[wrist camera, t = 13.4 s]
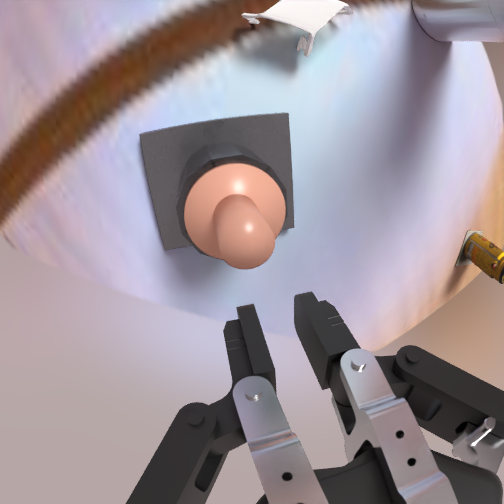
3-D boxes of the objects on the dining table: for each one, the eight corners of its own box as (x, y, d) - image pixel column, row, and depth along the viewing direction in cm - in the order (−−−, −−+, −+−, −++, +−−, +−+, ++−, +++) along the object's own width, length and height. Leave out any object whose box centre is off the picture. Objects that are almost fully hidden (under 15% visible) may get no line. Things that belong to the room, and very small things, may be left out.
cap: (270, 151, 23) (307, 174, 16) (276, 233, 27) (307, 284, 20) (177, 165, 22) (170, 195, 15) (193, 248, 26) (196, 306, 19)
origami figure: (278, 71, 27) (292, 66, 23) (236, 16, 23) (243, 2, 18) (354, 33, 25) (376, 27, 21) (317, -18, 21) (335, -31, 17)
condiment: (482, 230, 46) (520, 257, 36) (470, 263, 50) (504, 292, 40) (467, 230, 45) (507, 259, 35) (454, 266, 49) (490, 298, 39)
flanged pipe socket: (284, 112, 29) (323, 117, 20) (290, 222, 36) (323, 265, 27) (141, 133, 27) (118, 145, 18) (165, 244, 34) (159, 296, 25)
